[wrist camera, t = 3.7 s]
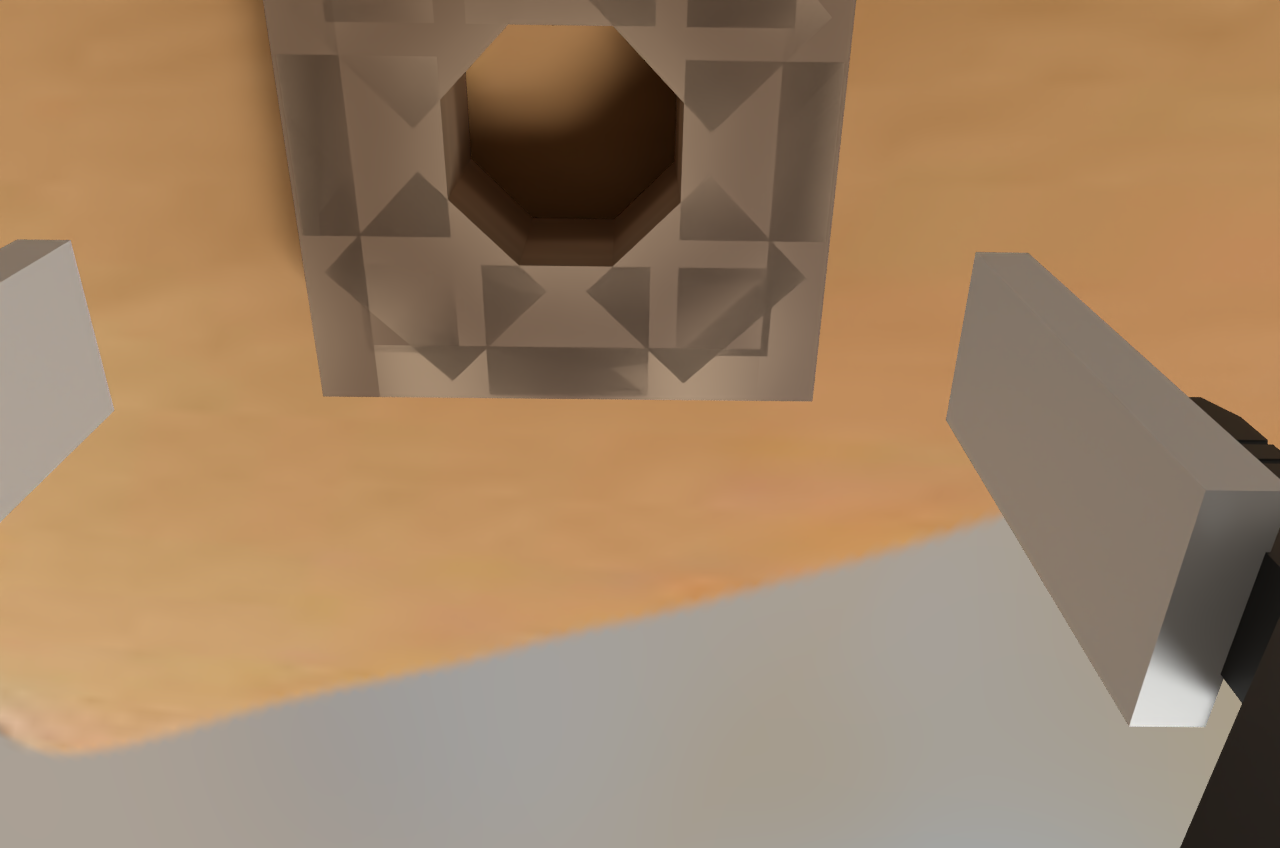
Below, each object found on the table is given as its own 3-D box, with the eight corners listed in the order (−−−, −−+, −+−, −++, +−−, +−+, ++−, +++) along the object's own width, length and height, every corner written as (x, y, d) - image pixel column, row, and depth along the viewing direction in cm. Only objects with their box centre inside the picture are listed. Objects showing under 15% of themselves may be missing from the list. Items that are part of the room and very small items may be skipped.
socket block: (359, 335, 30) (323, 396, 26) (294, -167, 24) (236, -175, 20) (791, 340, 30) (812, 401, 27) (838, -157, 24) (874, -164, 20)
